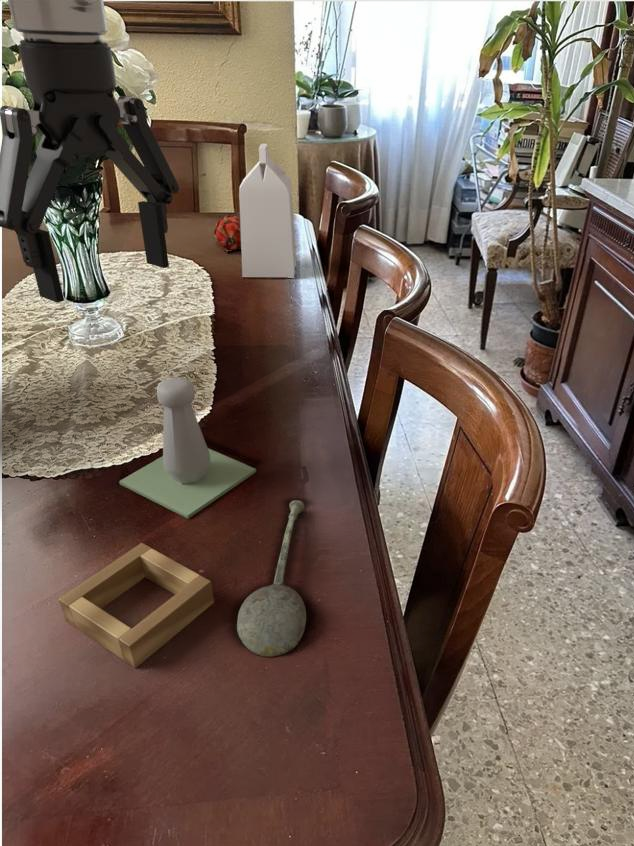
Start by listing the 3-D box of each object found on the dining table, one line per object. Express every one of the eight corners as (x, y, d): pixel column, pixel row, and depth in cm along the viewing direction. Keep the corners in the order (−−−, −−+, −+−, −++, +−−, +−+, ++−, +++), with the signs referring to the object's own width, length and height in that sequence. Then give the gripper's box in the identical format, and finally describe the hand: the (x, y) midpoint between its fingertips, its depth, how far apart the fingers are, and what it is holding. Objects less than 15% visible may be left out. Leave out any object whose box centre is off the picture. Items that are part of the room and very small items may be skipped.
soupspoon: (230, 659, 61) (300, 665, 61) (228, 635, 59) (301, 642, 59) (270, 508, 79) (325, 513, 79) (270, 486, 77) (326, 491, 77)
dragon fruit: (239, 248, 172) (235, 269, 163) (210, 228, 168) (204, 249, 159) (256, 222, 167) (253, 242, 159) (227, 201, 164) (222, 221, 155)
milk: (247, 262, 157) (238, 140, 142) (296, 263, 158) (292, 141, 143) (242, 278, 147) (231, 150, 132) (294, 279, 148) (289, 151, 133)
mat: (119, 484, 83) (118, 481, 82) (190, 443, 91) (189, 440, 90) (188, 519, 77) (187, 515, 77) (256, 472, 85) (256, 468, 85)
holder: (65, 621, 64) (58, 598, 62) (146, 563, 71) (141, 542, 69) (135, 668, 59) (129, 646, 58) (214, 602, 66) (211, 581, 65)
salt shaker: (221, 469, 85) (210, 377, 77) (194, 493, 81) (179, 398, 73) (184, 458, 87) (169, 367, 79) (155, 480, 82) (137, 387, 75)
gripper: (-54, 41, 47) (23, 325, 59) (199, 39, 64) (218, 259, 76) (-110, 35, 50) (-26, 306, 62) (145, 35, 67) (171, 247, 80)
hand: (108, 281), depth 69 cm, fingers open, 13 cm apart
